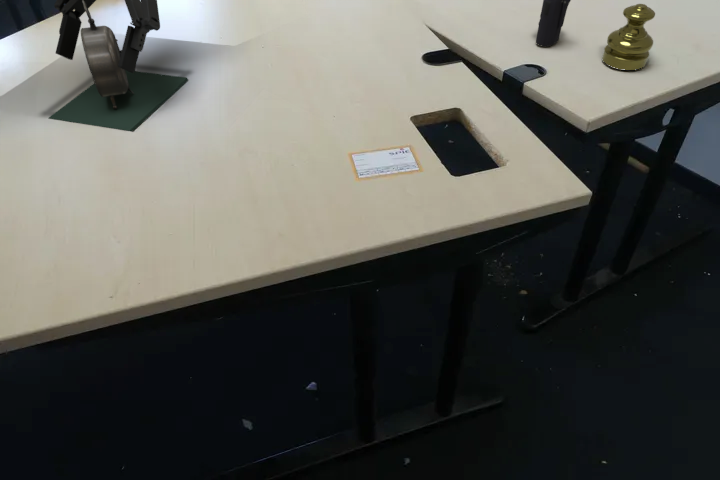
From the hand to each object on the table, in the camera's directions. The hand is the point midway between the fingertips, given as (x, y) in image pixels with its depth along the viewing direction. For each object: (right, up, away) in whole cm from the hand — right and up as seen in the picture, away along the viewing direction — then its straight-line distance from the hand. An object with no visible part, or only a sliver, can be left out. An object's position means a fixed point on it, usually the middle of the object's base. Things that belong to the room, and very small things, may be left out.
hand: (94, 63), depth 86 cm
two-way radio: (+79, +9, +16) cm, 81 cm away
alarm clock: (+1, -4, +7) cm, 8 cm away
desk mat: (+1, -4, +7) cm, 8 cm away
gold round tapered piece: (+90, +3, +9) cm, 91 cm away
